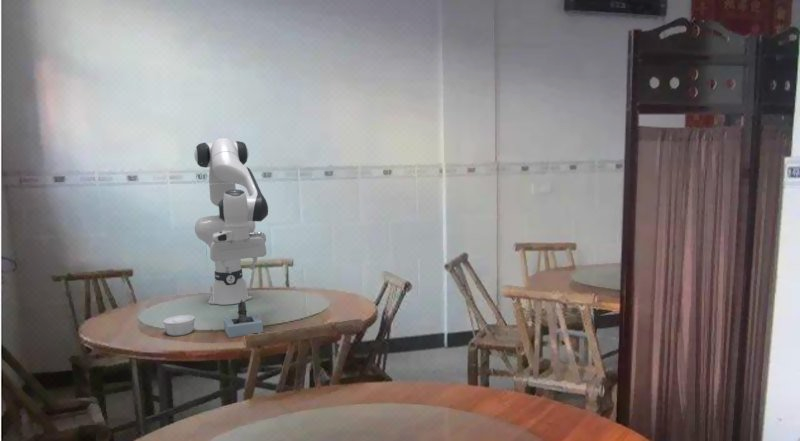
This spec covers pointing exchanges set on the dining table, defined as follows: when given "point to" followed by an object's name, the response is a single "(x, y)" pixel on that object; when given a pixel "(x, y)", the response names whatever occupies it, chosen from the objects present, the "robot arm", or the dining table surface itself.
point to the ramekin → (179, 325)
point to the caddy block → (243, 326)
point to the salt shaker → (242, 313)
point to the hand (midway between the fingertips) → (239, 270)
